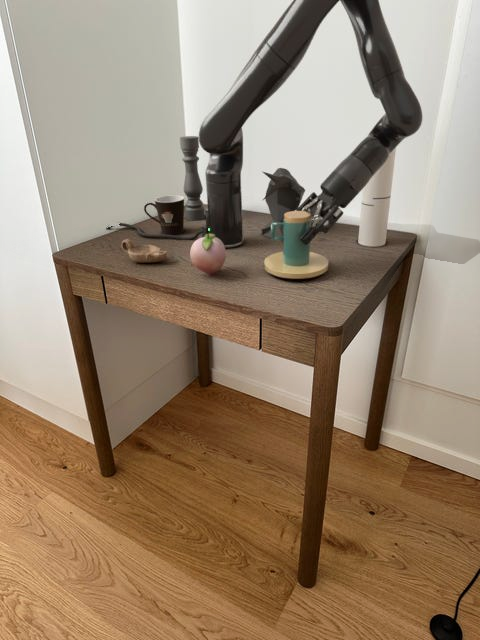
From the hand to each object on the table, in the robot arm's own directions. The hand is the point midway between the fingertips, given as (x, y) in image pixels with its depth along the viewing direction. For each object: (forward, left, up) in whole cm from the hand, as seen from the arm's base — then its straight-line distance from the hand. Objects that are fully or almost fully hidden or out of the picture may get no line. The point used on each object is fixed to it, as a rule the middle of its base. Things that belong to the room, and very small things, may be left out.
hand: (296, 236), depth 104 cm
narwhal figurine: (-22, +24, -9) cm, 34 cm away
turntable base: (0, 0, -8) cm, 8 cm away
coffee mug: (-49, +3, -9) cm, 50 cm away
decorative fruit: (-15, -14, -9) cm, 22 cm away
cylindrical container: (+5, +29, -8) cm, 31 cm away
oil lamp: (-35, -17, -9) cm, 40 cm away
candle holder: (-53, +18, -9) cm, 57 cm away
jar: (0, 0, -7) cm, 7 cm away
